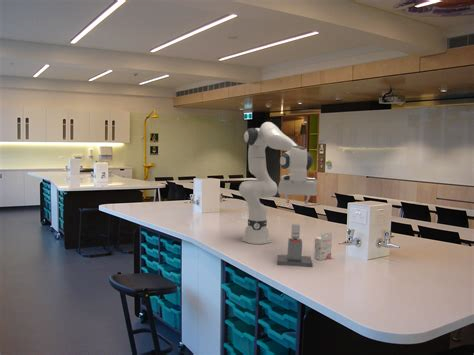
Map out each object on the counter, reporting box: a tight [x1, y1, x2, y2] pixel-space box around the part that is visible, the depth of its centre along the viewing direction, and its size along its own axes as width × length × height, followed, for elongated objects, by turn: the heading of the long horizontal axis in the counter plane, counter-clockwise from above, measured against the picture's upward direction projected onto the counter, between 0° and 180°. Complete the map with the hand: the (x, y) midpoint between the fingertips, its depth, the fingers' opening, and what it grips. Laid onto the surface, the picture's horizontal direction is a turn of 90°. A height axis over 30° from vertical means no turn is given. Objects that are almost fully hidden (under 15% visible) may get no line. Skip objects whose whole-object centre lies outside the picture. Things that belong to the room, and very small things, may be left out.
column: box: [290, 223, 301, 241], centre depth 225 cm, size 4×4×18 cm
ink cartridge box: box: [313, 231, 333, 261], centre depth 235 cm, size 9×5×15 cm, turn 123°
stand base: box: [276, 237, 313, 268], centre depth 225 cm, size 13×18×13 cm
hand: (296, 203), depth 223 cm, fingers open, 8 cm apart
